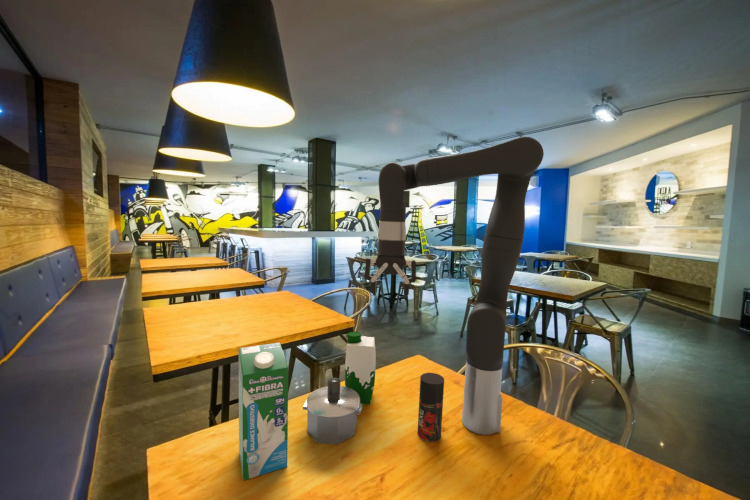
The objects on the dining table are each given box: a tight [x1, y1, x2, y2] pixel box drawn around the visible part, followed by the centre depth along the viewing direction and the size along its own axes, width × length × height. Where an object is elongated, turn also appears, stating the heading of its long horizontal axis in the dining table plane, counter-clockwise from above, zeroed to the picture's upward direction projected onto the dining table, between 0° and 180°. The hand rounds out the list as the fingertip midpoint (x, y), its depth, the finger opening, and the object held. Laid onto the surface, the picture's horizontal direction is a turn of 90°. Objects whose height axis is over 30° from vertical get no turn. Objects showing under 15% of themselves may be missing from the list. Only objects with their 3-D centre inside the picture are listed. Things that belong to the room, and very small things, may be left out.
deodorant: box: [417, 372, 445, 443], centre depth 82 cm, size 6×6×15 cm
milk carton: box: [238, 342, 289, 481], centre depth 71 cm, size 9×9×25 cm
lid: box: [306, 377, 360, 418], centre depth 83 cm, size 14×14×6 cm
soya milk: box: [344, 331, 377, 405], centre depth 98 cm, size 9×9×20 cm
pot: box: [302, 399, 363, 445], centre depth 84 cm, size 15×12×7 cm
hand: (389, 295), depth 91 cm, fingers open, 8 cm apart
